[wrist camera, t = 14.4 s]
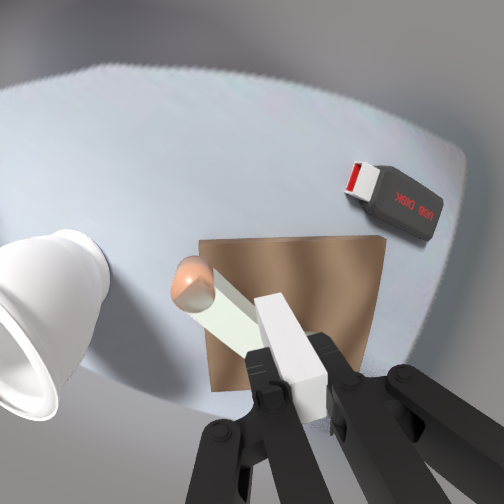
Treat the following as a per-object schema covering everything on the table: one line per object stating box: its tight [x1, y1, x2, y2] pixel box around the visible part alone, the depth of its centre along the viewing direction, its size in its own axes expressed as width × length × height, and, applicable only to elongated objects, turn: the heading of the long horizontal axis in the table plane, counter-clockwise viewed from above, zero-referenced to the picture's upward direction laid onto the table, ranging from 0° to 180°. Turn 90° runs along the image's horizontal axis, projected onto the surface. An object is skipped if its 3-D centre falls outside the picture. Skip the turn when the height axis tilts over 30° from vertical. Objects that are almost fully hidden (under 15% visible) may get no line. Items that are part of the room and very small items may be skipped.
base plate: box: [199, 235, 387, 392], centre depth 28 cm, size 18×17×2 cm
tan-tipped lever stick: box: [171, 256, 316, 359], centre depth 19 cm, size 16×6×4 cm, turn 42°
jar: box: [0, 230, 110, 421], centre depth 16 cm, size 11×10×15 cm
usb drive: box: [345, 161, 444, 241], centre depth 25 cm, size 5×12×3 cm, turn 71°
